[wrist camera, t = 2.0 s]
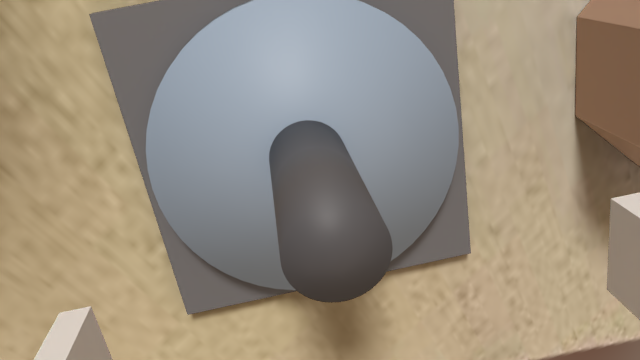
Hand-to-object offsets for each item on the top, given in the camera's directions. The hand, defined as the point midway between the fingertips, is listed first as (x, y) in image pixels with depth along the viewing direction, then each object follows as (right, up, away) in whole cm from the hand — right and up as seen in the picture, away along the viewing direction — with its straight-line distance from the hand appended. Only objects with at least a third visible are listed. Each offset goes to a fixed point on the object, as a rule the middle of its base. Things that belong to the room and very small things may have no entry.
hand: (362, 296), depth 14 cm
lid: (-2, +4, +10) cm, 11 cm away
